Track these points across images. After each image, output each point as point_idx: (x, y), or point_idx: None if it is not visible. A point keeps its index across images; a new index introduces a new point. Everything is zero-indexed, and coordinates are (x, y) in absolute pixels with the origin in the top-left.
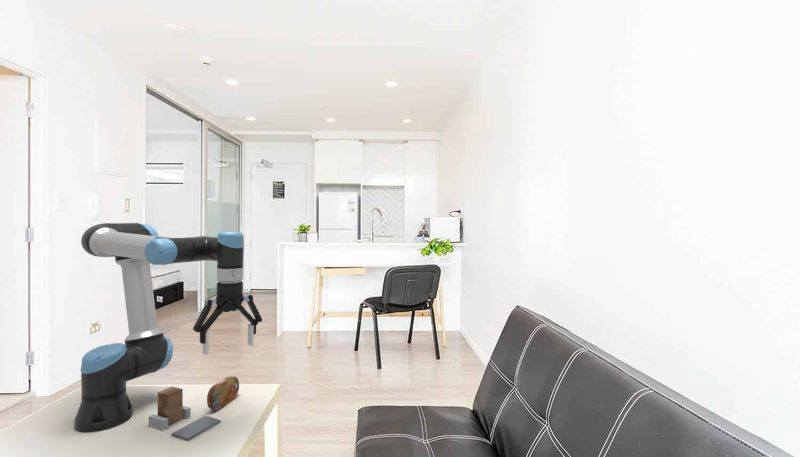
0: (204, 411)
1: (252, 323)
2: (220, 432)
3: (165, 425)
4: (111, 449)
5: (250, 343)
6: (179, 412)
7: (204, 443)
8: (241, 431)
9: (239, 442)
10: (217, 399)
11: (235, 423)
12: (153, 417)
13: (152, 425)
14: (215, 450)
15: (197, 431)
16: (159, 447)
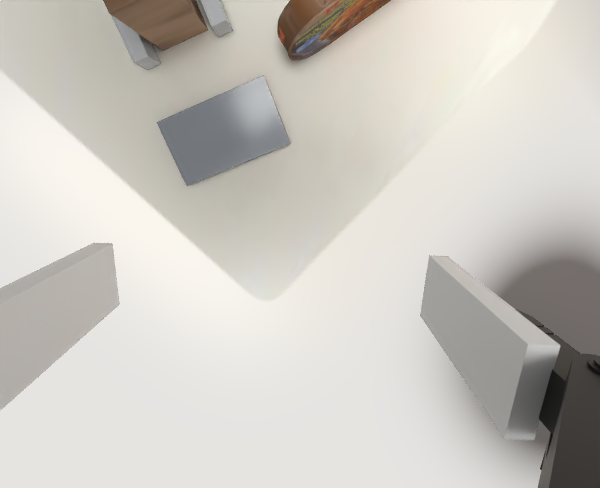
0: None
1: (552, 429)
2: (268, 201)
3: (146, 65)
4: (18, 80)
5: (427, 314)
6: (189, 25)
7: (218, 226)
8: (311, 236)
9: (284, 282)
10: (315, 34)
11: (318, 181)
12: None
13: None
14: (229, 276)
15: (216, 166)
16: (124, 164)
